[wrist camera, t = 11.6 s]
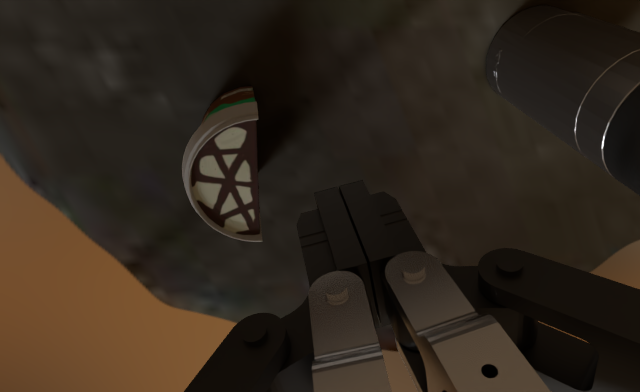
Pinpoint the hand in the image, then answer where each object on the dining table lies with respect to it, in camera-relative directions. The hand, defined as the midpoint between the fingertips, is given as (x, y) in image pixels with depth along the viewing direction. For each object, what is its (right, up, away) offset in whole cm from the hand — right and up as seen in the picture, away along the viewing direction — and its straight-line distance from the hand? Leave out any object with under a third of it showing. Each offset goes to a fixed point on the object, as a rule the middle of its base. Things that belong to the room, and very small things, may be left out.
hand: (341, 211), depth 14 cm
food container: (-10, +7, +31) cm, 34 cm away
